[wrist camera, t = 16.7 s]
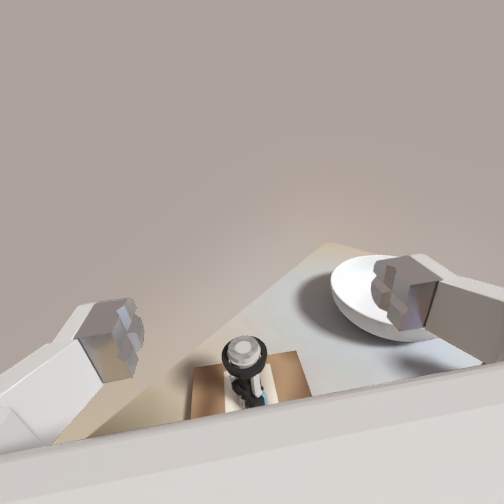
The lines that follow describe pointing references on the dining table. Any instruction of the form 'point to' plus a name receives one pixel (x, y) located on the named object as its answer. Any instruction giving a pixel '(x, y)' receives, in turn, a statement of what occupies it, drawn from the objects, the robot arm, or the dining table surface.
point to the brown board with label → (272, 379)
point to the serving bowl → (367, 300)
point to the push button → (246, 369)
